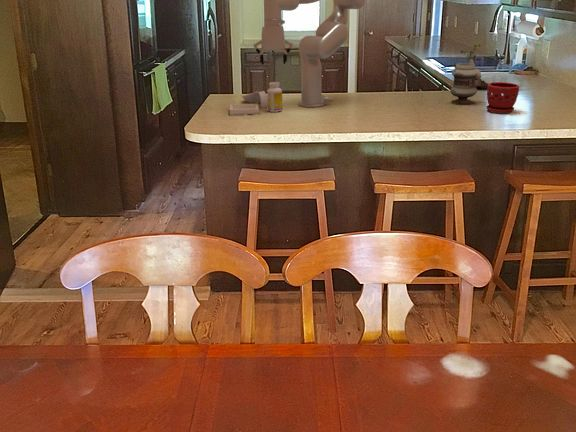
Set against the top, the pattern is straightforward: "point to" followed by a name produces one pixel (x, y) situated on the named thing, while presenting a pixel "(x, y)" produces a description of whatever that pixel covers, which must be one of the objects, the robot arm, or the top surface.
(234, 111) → the ceramic tray
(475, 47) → the potted plant
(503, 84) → the plant pot
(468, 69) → the apothecary jar
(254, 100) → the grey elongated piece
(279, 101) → the supplement bottle
